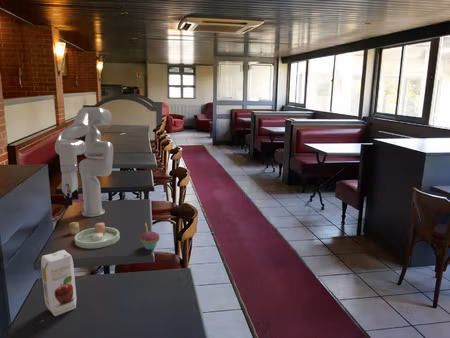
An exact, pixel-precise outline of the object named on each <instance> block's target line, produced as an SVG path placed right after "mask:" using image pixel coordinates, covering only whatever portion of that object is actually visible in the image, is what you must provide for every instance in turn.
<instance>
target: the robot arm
mask: <svg viewBox="0 0 450 338" xmlns="http://www.w3.org/2000/svg"><path fill="white" fill-rule="evenodd" d="M112 120H113V115H112V113H111V111H110V110H109V109H107V108H106V109H105V108H103V107H82V108H80V109H79V110H78V112H77V113H76V116H75V119H74V121H73V123H72V125H70V126H68V127H67V128H65V129H63V130H62V131H61V132H59V134H58V136H57V138H56V141H55V143H54V151H55V153H56V154H57V155H59V163H60V164H59V165H60V166H59V167H60V172H61V191H62V193H63V195H64V196H63V197H64V203H65V204H64V205H65V206H67V207H68V206H73V200H75V201H76V200H80V197H79V179H78V171H79V173H80V177H81V184H82V186H81V187H82V195H83V196H82V197H83V198H82V200H83V204H82V208H83V210H82V211H81V215H82V216H83V217H87V218H89V217H90V218H92V217H93V218H94V217H98V216H103V215H104V214H105V213H106V211H105V210H106V209H104V208H103V207H102V192H101V191H102V190H101V182H100V180H99V179H98V177H108V176H110V175H111V173H112V171H113V170H112V169H113V161H114V160H113V159H114V145H113V143H112V142H110V141H107V140H105V141H104V140H103V141H102V132H101V131H100V130H99V129H98V127H96V126H109V125H110V124H111V123H112ZM81 137H85V138H84V139H85V140H81V139H78V138H81ZM82 155H84V156H85V157H86V159H81V161H80V162H79V163H78V157H77V156H82Z"/></svg>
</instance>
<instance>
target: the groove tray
mask: <svg viewBox="0 0 450 338" xmlns="http://www.w3.org/2000/svg"><path fill="white" fill-rule="evenodd" d="M120 234H121V233H120V231H119V229H117V228H115V227H108V226H105V234H104V235H103V233H96V230H95V227H91V228H87V229H83V230H81V231H79V233H77V234H76V235H75V236H74V244H75V245H76V246H77V247H79V248H82V249H99V248H105V247H108V246H112V245H114V244H116V243H117V242H119V240H120V238H121V237H120V236H121V235H120Z"/></svg>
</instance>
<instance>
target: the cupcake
mask: <svg viewBox="0 0 450 338" xmlns="http://www.w3.org/2000/svg"><path fill="white" fill-rule="evenodd" d="M144 224H145V228H146V229H145V230H146V232H144V233H142V234H141V235H140V237H139V239H140V242H141V243H142V244H143V246H144V249H146V250H154V249H156V247H157V243H158V242H159V241H160V234H158V233H157V232H155V231H149V230H148V225H147V224H148V223H146V221H145V222H144Z"/></svg>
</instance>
